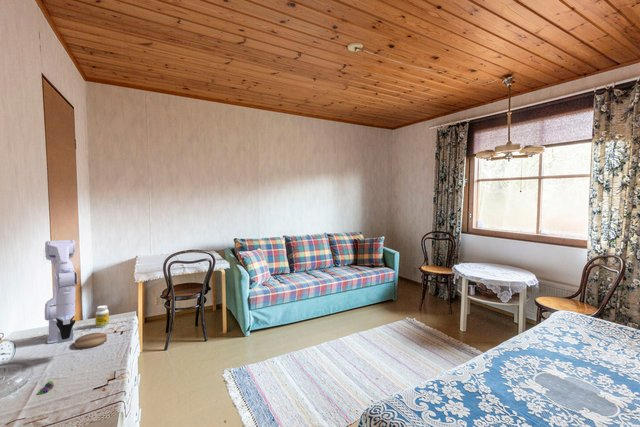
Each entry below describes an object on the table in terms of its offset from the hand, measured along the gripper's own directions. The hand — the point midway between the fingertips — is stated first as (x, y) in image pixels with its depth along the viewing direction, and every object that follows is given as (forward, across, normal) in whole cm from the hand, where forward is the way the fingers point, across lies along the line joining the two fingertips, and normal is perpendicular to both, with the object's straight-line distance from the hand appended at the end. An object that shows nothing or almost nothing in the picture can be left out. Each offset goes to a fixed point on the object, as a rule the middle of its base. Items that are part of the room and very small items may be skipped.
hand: (65, 336), depth 116 cm
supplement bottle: (+9, -26, +15) cm, 31 cm away
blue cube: (+1, 0, 0) cm, 1 cm away
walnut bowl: (+8, -8, +9) cm, 15 cm away
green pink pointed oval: (+9, +22, -5) cm, 25 cm away
